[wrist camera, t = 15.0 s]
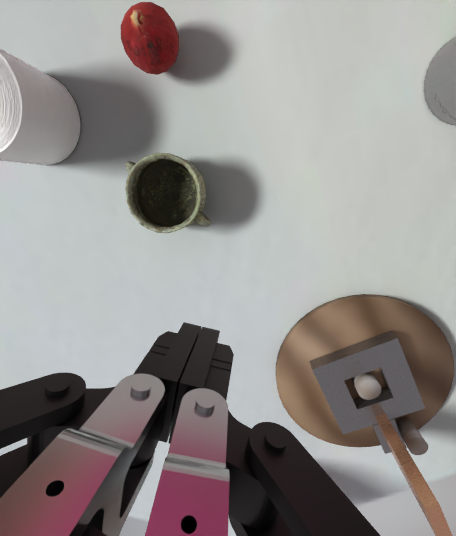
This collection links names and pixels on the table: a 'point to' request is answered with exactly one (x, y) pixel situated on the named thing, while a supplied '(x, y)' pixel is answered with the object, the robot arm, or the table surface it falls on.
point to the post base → (348, 333)
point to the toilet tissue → (34, 115)
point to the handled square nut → (379, 406)
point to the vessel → (165, 193)
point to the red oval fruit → (150, 37)
